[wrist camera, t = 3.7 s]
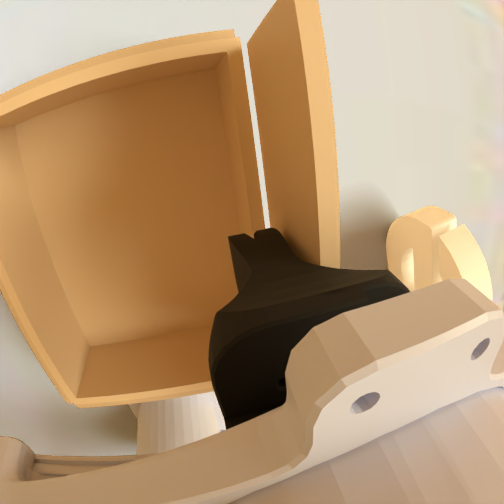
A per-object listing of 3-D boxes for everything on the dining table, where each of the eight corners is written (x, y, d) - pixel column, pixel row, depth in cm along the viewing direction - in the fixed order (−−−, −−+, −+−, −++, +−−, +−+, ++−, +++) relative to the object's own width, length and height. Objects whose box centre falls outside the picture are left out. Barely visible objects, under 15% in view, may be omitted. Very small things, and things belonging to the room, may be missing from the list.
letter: (408, 372, 32) (454, 433, 23) (392, 380, 32) (436, 444, 23) (401, 189, 22) (500, 240, 13) (378, 198, 22) (476, 255, 13)
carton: (260, 321, 24) (281, 376, 19) (85, 352, 23) (70, 408, 17) (222, 53, 16) (238, 28, 11) (5, 115, 14) (-49, 122, 9)
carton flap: (285, 370, 18) (293, 368, 18) (316, 469, 12) (326, 466, 12) (246, 43, 11) (259, 42, 11) (291, -19, 5) (314, -18, 5)
